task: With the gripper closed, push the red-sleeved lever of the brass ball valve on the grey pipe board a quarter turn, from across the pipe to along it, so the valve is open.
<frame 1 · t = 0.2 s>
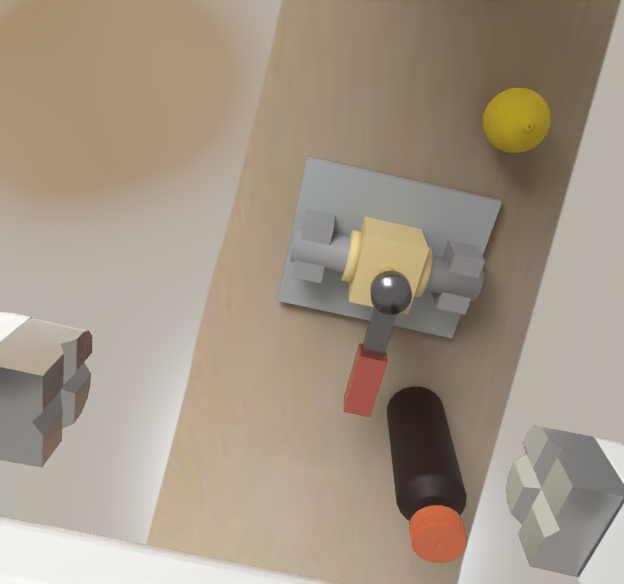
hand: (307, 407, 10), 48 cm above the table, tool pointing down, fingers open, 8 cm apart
bottle: (414, 407, 67), on the table
valve assembly: (383, 250, 59), on the table
lever: (375, 344, 51), point 11 cm above the table, hinge at 0.0°
lemon: (503, 114, 53), on the table
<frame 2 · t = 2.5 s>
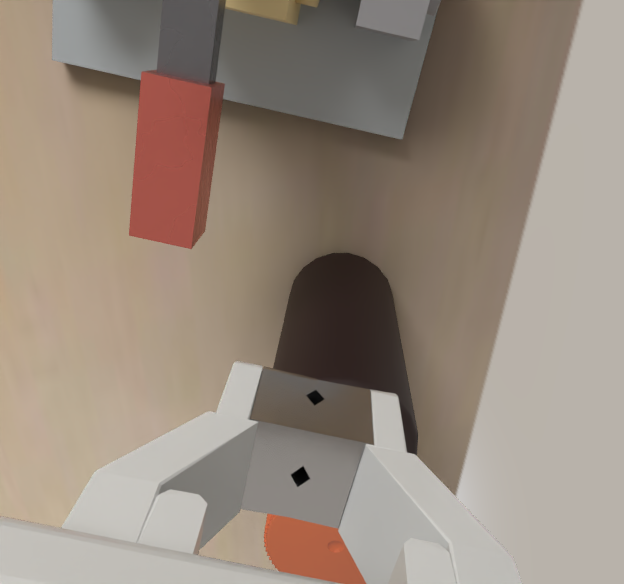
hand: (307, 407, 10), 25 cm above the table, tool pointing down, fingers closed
bottle: (340, 297, 37), on the table
lever: (187, 54, 21), point 11 cm above the table, hinge at 0.0°
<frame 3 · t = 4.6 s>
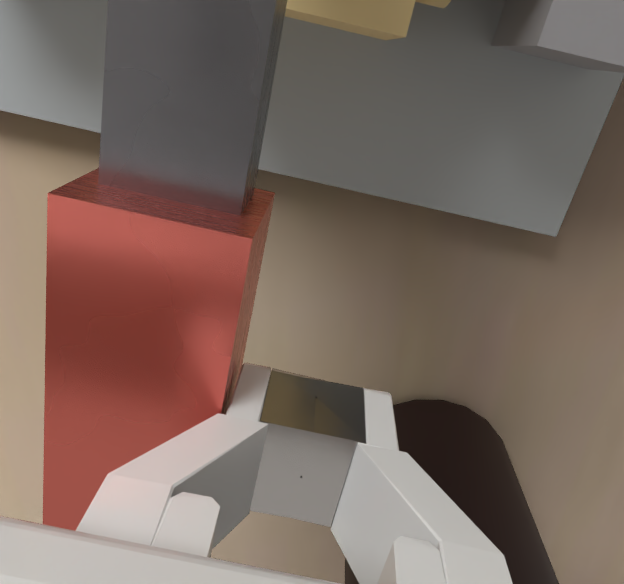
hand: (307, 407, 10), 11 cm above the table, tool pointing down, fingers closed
bottle: (422, 457, 24), on the table
lever: (184, 134, 8), point 11 cm above the table, hinge at 0.1°, touching gripper
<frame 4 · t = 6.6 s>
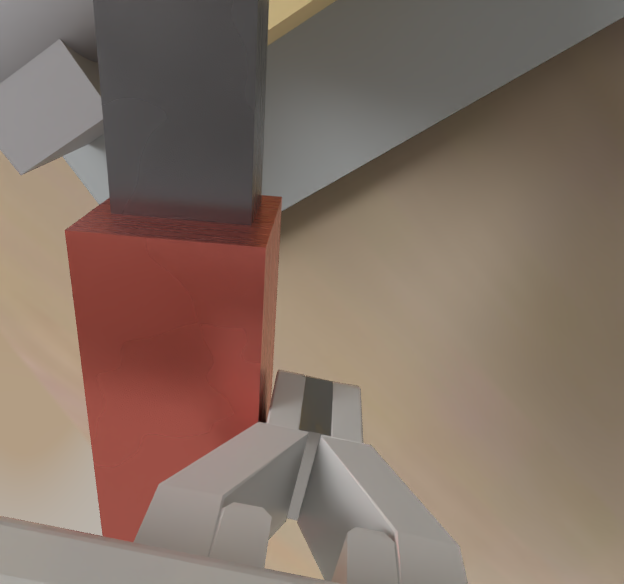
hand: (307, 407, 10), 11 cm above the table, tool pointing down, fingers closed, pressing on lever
lever: (186, 153, 8), point 11 cm above the table, hinge at 35.0°, touching gripper
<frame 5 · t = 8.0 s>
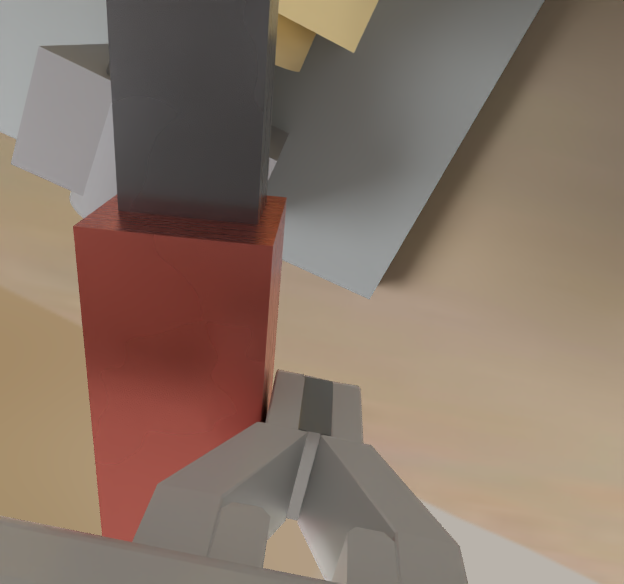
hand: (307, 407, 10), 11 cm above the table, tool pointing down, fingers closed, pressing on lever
lever: (194, 152, 8), point 11 cm above the table, hinge at 69.9°, touching gripper
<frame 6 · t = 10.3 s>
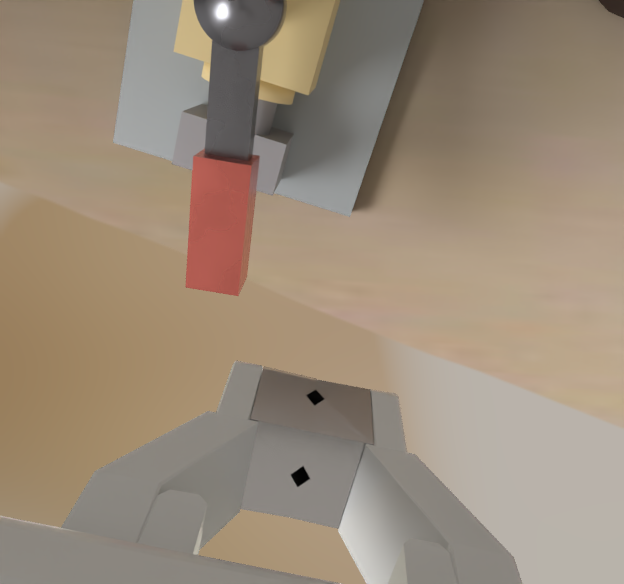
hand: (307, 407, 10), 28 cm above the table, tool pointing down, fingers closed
valve assembly: (275, 16, 33), on the table
lever: (229, 137, 25), point 11 cm above the table, hinge at 81.7°
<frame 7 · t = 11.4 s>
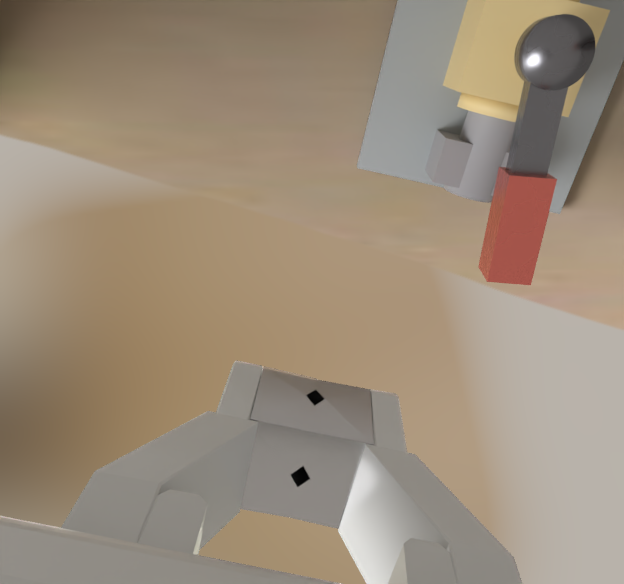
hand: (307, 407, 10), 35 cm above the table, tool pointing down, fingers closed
valve assembly: (500, 51, 39), on the table
lever: (530, 157, 31), point 11 cm above the table, hinge at 81.7°
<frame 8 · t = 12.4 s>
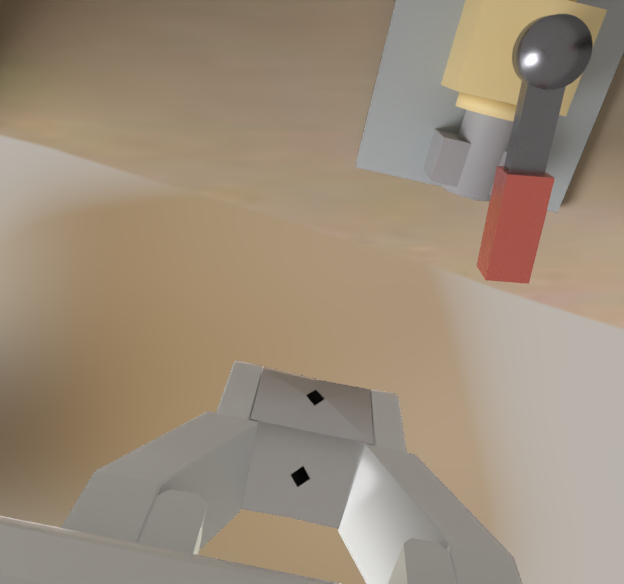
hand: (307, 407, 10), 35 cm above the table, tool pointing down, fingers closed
valve assembly: (498, 50, 39), on the table
lever: (528, 156, 31), point 11 cm above the table, hinge at 81.7°
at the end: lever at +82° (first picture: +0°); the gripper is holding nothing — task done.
